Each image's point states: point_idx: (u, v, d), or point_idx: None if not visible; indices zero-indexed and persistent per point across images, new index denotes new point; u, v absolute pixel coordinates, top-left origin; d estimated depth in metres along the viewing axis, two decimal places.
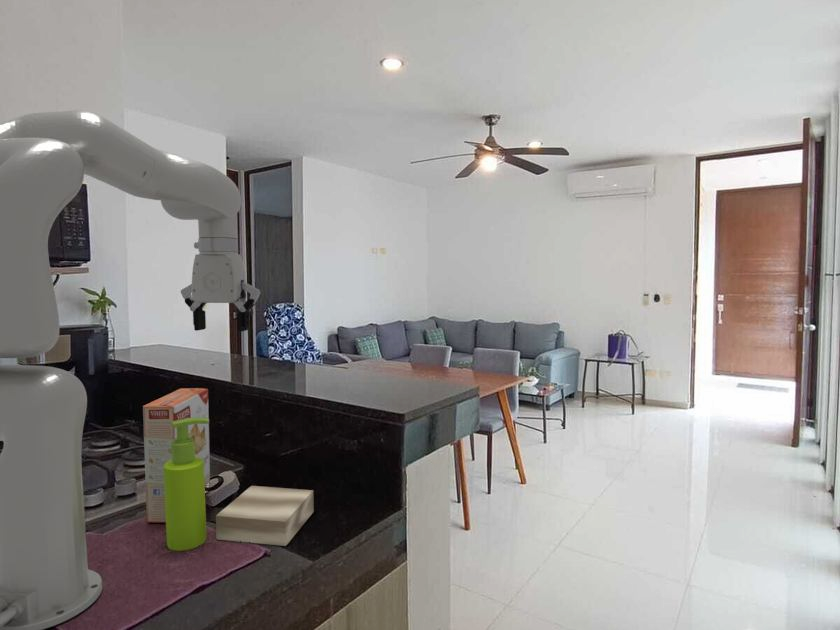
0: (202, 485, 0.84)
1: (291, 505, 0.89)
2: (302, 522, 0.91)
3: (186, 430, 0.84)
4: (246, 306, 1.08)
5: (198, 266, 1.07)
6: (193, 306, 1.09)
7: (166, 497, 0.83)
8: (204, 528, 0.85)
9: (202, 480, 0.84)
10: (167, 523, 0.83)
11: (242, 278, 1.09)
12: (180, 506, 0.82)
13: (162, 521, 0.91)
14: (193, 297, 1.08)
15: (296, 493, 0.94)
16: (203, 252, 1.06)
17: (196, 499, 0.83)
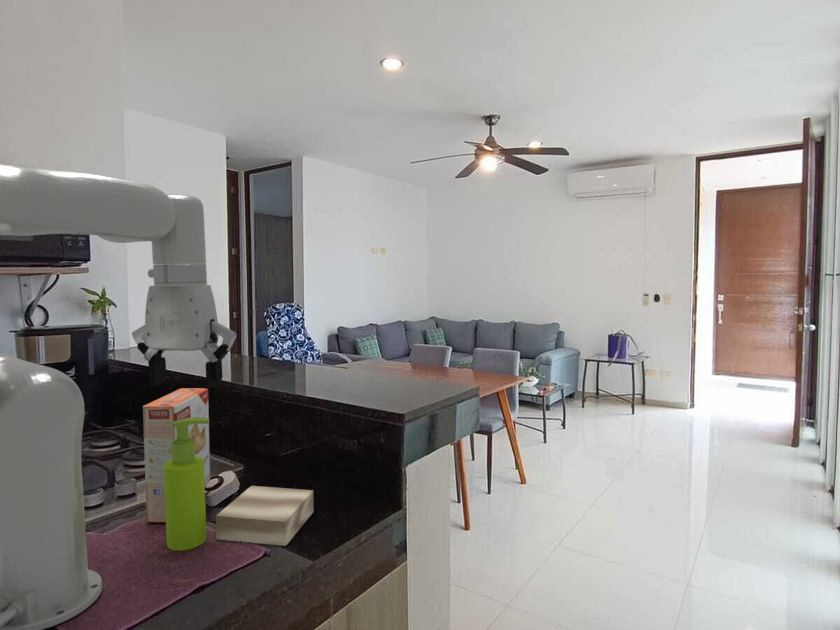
0: (202, 485, 0.84)
1: (291, 505, 0.89)
2: (302, 522, 0.91)
3: (186, 430, 0.84)
4: (217, 354, 0.81)
5: (153, 302, 0.80)
6: (148, 354, 0.83)
7: (166, 497, 0.83)
8: (204, 528, 0.85)
9: (202, 480, 0.84)
10: (167, 523, 0.83)
11: (212, 317, 0.82)
12: (180, 506, 0.82)
13: (162, 521, 0.91)
14: (147, 343, 0.81)
15: (296, 493, 0.94)
16: (158, 284, 0.79)
17: (196, 499, 0.83)
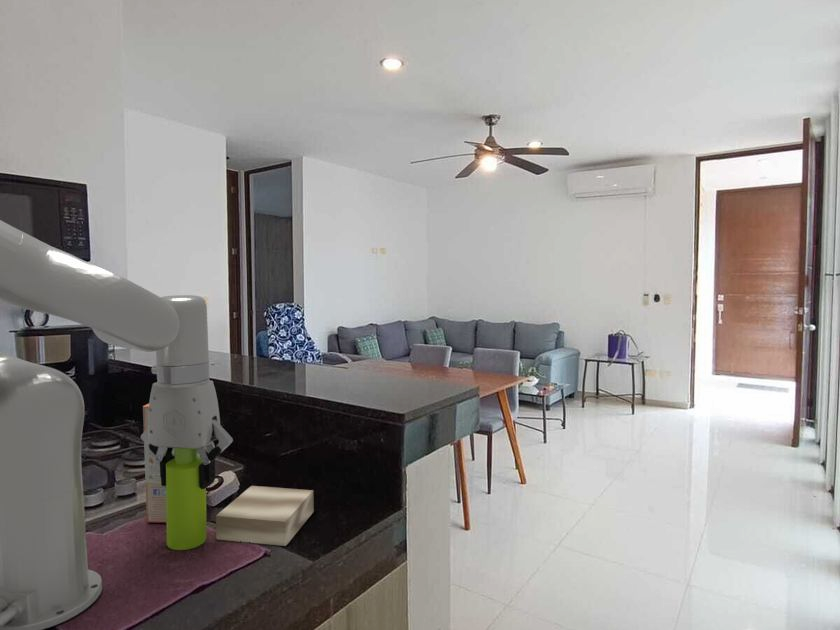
0: None
1: (291, 505, 0.89)
2: (302, 522, 0.91)
3: None
4: (210, 456, 0.83)
5: (156, 401, 0.82)
6: (159, 455, 0.84)
7: (167, 496, 0.83)
8: (204, 528, 0.85)
9: None
10: (168, 522, 0.83)
11: (214, 414, 0.83)
12: (181, 506, 0.82)
13: (162, 521, 0.91)
14: (150, 440, 0.82)
15: (296, 493, 0.94)
16: (162, 384, 0.80)
17: (197, 499, 0.83)
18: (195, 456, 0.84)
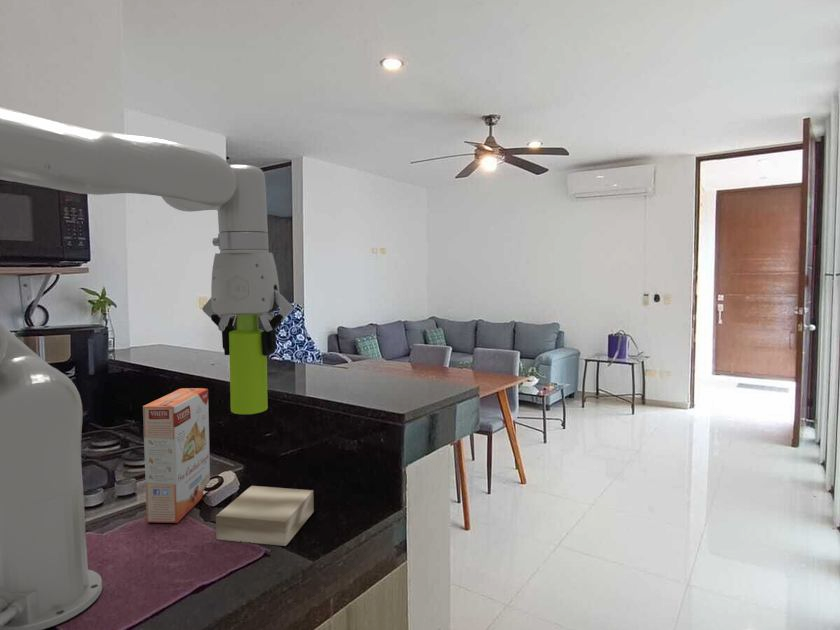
0: None
1: (291, 505, 0.89)
2: (302, 522, 0.91)
3: None
4: (272, 324, 0.85)
5: (219, 268, 0.84)
6: (221, 324, 0.86)
7: (232, 362, 0.85)
8: (266, 396, 0.88)
9: None
10: (232, 388, 0.86)
11: (275, 282, 0.86)
12: (246, 371, 0.85)
13: (162, 521, 0.91)
14: (213, 308, 0.85)
15: (296, 493, 0.94)
16: (225, 250, 0.83)
17: (260, 366, 0.86)
18: (257, 325, 0.86)
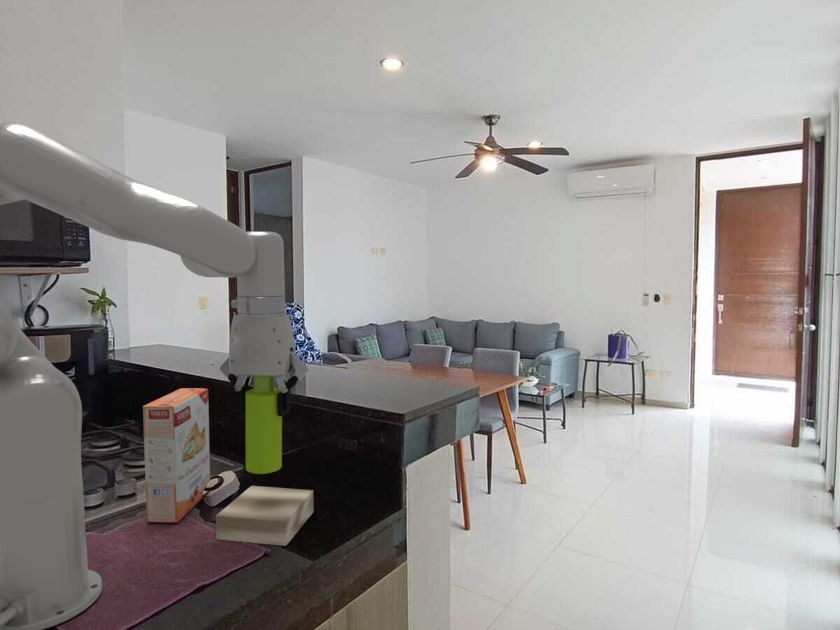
0: None
1: (291, 505, 0.89)
2: (302, 522, 0.91)
3: None
4: (288, 385, 0.87)
5: (237, 331, 0.86)
6: (238, 384, 0.88)
7: (248, 422, 0.87)
8: (281, 455, 0.90)
9: None
10: (248, 447, 0.87)
11: (291, 345, 0.87)
12: (261, 431, 0.86)
13: (162, 521, 0.91)
14: (231, 369, 0.87)
15: (296, 493, 0.94)
16: (244, 315, 0.85)
17: (276, 426, 0.88)
18: (273, 385, 0.88)
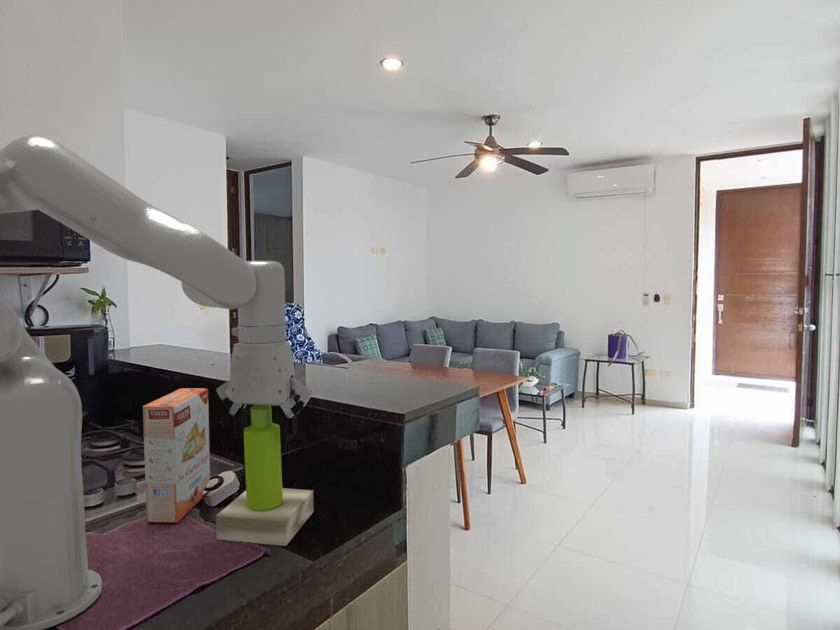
0: (279, 448, 0.89)
1: (291, 505, 0.89)
2: (302, 522, 0.91)
3: None
4: (294, 410, 0.87)
5: (238, 360, 0.86)
6: (233, 409, 0.89)
7: (247, 459, 0.87)
8: (281, 490, 0.90)
9: (279, 444, 0.89)
10: (248, 484, 0.88)
11: (291, 373, 0.88)
12: (261, 468, 0.87)
13: (162, 521, 0.91)
14: (231, 397, 0.87)
15: (296, 493, 0.94)
16: (245, 344, 0.85)
17: (275, 461, 0.88)
18: (270, 421, 0.89)
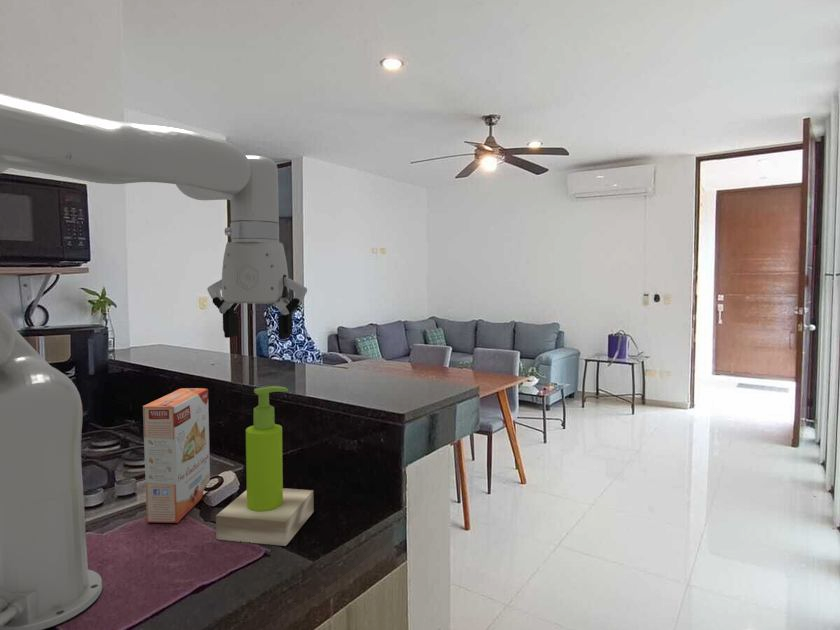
0: (281, 450, 0.89)
1: (291, 505, 0.89)
2: (302, 522, 0.91)
3: (267, 397, 0.88)
4: (289, 308, 0.86)
5: (230, 257, 0.85)
6: (223, 307, 0.88)
7: (248, 460, 0.87)
8: (282, 491, 0.90)
9: (281, 445, 0.89)
10: (249, 485, 0.88)
11: (284, 272, 0.87)
12: (262, 469, 0.87)
13: (162, 521, 0.91)
14: (223, 296, 0.86)
15: (296, 493, 0.94)
16: (237, 239, 0.84)
17: (276, 463, 0.88)
18: (273, 422, 0.88)
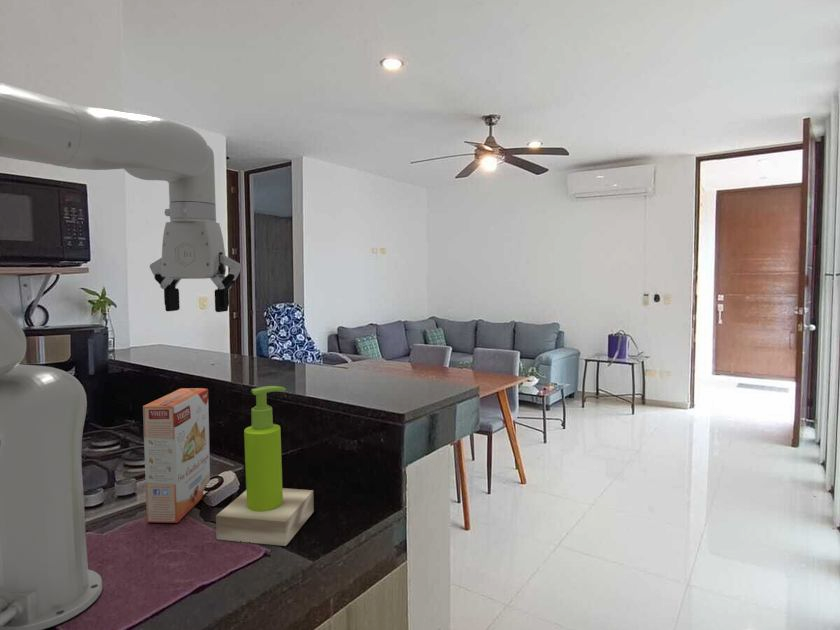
0: (280, 450, 0.89)
1: (291, 505, 0.89)
2: (302, 522, 0.91)
3: (265, 397, 0.88)
4: (225, 282, 0.93)
5: (169, 236, 0.92)
6: (164, 283, 0.94)
7: (247, 460, 0.87)
8: (281, 491, 0.90)
9: (280, 445, 0.89)
10: (248, 485, 0.88)
11: (220, 250, 0.93)
12: (261, 469, 0.87)
13: (162, 521, 0.91)
14: (163, 272, 0.93)
15: (296, 493, 0.94)
16: (174, 219, 0.91)
17: (275, 463, 0.88)
18: (271, 422, 0.89)
